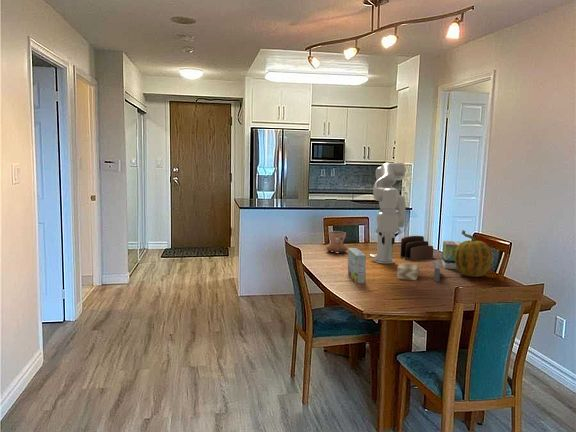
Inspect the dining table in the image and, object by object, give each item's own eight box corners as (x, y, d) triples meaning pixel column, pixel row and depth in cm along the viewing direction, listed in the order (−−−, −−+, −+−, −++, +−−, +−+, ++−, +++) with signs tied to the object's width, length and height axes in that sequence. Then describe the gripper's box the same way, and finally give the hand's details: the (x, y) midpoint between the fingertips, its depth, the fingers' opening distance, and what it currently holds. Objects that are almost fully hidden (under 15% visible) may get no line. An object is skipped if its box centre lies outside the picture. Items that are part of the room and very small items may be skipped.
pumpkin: (449, 271, 272) (451, 228, 270) (483, 272, 272) (485, 229, 269) (460, 279, 254) (462, 233, 251) (496, 280, 253) (499, 233, 251)
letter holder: (400, 257, 313) (400, 236, 311) (422, 255, 322) (423, 234, 321) (410, 260, 304) (411, 238, 302) (433, 257, 313) (434, 236, 312)
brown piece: (347, 254, 321) (348, 234, 319) (326, 254, 322) (326, 233, 321) (346, 250, 338) (347, 230, 337) (326, 249, 340) (327, 230, 338)
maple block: (396, 278, 256) (397, 267, 255) (399, 274, 267) (400, 263, 266) (415, 280, 252) (416, 269, 251) (418, 275, 263) (418, 265, 263)
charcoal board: (434, 281, 250) (434, 268, 249) (434, 272, 271) (434, 260, 270) (439, 281, 249) (439, 268, 248) (438, 272, 270) (439, 260, 269)
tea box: (462, 269, 278) (463, 244, 277) (444, 268, 280) (445, 244, 279) (458, 264, 293) (459, 240, 291) (441, 263, 295) (442, 240, 293)
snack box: (346, 274, 264) (347, 247, 262) (356, 274, 264) (357, 247, 263) (355, 284, 243) (356, 255, 241) (366, 283, 243) (367, 255, 242)
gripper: (372, 211, 258) (371, 244, 260) (404, 212, 253) (403, 246, 255) (374, 210, 265) (373, 242, 267) (405, 211, 260) (404, 244, 262)
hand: (388, 244), depth 261 cm, fingers open, 4 cm apart
